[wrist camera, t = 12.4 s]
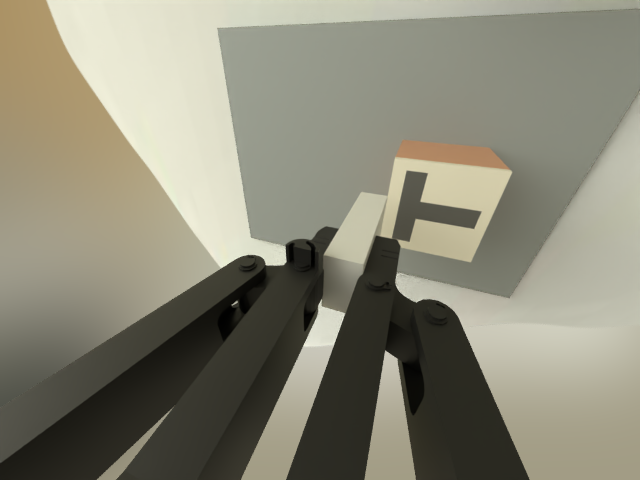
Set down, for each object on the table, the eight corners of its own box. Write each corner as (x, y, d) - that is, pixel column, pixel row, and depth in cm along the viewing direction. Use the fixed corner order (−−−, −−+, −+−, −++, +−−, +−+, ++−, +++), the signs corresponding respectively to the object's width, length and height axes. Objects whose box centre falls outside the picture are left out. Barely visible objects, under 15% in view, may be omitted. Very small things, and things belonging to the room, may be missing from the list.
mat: (220, 29, 20) (217, 28, 20) (685, 8, 12) (692, 6, 12) (252, 235, 31) (251, 237, 31) (508, 295, 23) (509, 298, 23)
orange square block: (512, 171, 13) (489, 147, 17) (394, 158, 14) (402, 139, 19) (470, 262, 16) (460, 221, 21) (378, 243, 18) (389, 209, 22)
